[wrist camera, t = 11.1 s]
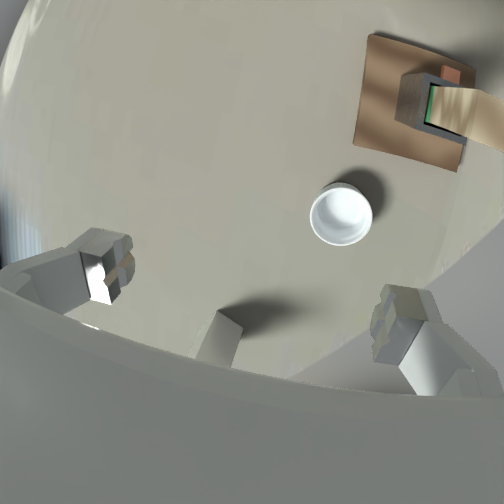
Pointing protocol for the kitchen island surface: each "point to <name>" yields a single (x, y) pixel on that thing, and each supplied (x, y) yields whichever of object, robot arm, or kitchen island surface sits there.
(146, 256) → the kitchen island surface
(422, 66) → the stand base
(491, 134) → the beech post
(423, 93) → the metal sleeve
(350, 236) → the ramekin
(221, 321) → the soap dispenser
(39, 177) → the kitchen island surface
